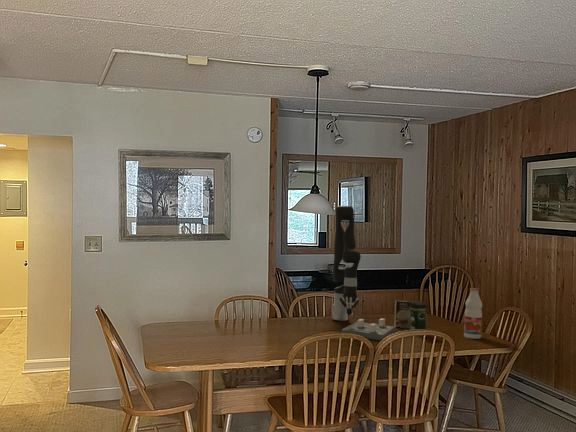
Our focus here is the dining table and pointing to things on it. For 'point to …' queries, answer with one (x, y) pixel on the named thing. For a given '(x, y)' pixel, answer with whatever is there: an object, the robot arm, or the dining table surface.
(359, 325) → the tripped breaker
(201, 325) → the dining table surface
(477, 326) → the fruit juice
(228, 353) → the dining table surface
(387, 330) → the grey flat square slab
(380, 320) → the breaker far
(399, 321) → the coffee box
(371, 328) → the breaker near
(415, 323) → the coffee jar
